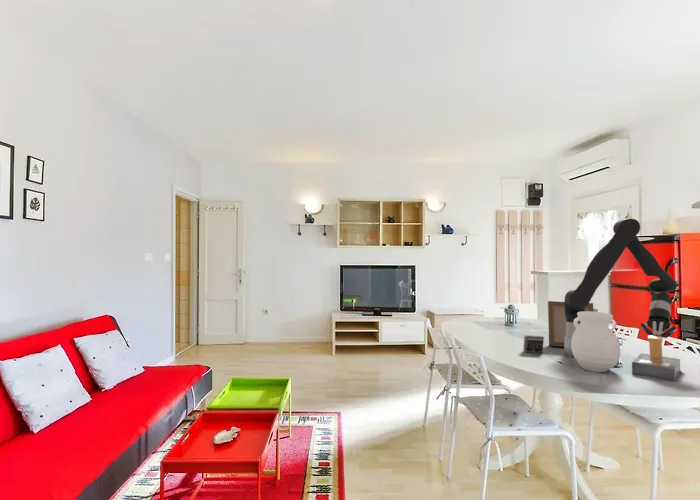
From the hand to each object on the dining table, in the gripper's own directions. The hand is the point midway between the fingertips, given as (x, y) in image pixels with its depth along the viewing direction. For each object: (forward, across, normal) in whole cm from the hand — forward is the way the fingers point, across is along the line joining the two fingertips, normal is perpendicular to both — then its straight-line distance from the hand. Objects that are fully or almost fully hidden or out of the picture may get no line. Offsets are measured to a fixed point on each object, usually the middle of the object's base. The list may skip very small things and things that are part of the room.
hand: (656, 343), depth 166 cm
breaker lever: (+5, 0, +6) cm, 8 cm away
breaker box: (+8, 0, +9) cm, 13 cm away
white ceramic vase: (+19, -20, -2) cm, 28 cm away
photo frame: (-10, -41, +28) cm, 51 cm away
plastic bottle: (-23, -34, +42) cm, 58 cm away
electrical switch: (+11, -50, +6) cm, 51 cm away
